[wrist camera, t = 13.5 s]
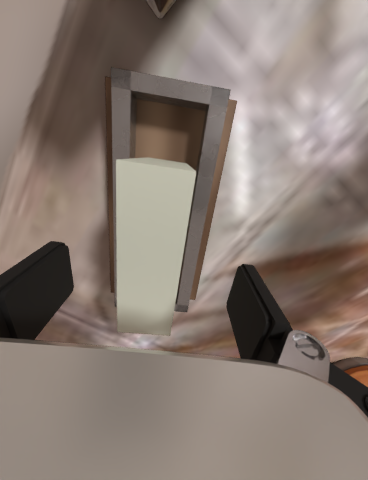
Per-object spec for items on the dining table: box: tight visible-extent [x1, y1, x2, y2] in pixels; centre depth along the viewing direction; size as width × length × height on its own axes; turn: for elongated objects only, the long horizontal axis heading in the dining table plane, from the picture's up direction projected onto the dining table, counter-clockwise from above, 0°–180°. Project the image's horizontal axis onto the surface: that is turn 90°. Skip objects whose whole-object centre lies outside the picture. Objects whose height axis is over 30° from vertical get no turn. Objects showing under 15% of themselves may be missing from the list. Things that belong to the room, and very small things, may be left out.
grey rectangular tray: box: [105, 67, 237, 312], centre depth 21 cm, size 12×24×4 cm, turn 172°
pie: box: [333, 357, 368, 387], centre depth 36 cm, size 16×16×5 cm
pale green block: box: [116, 157, 196, 336], centre depth 17 cm, size 4×12×11 cm, turn 172°
